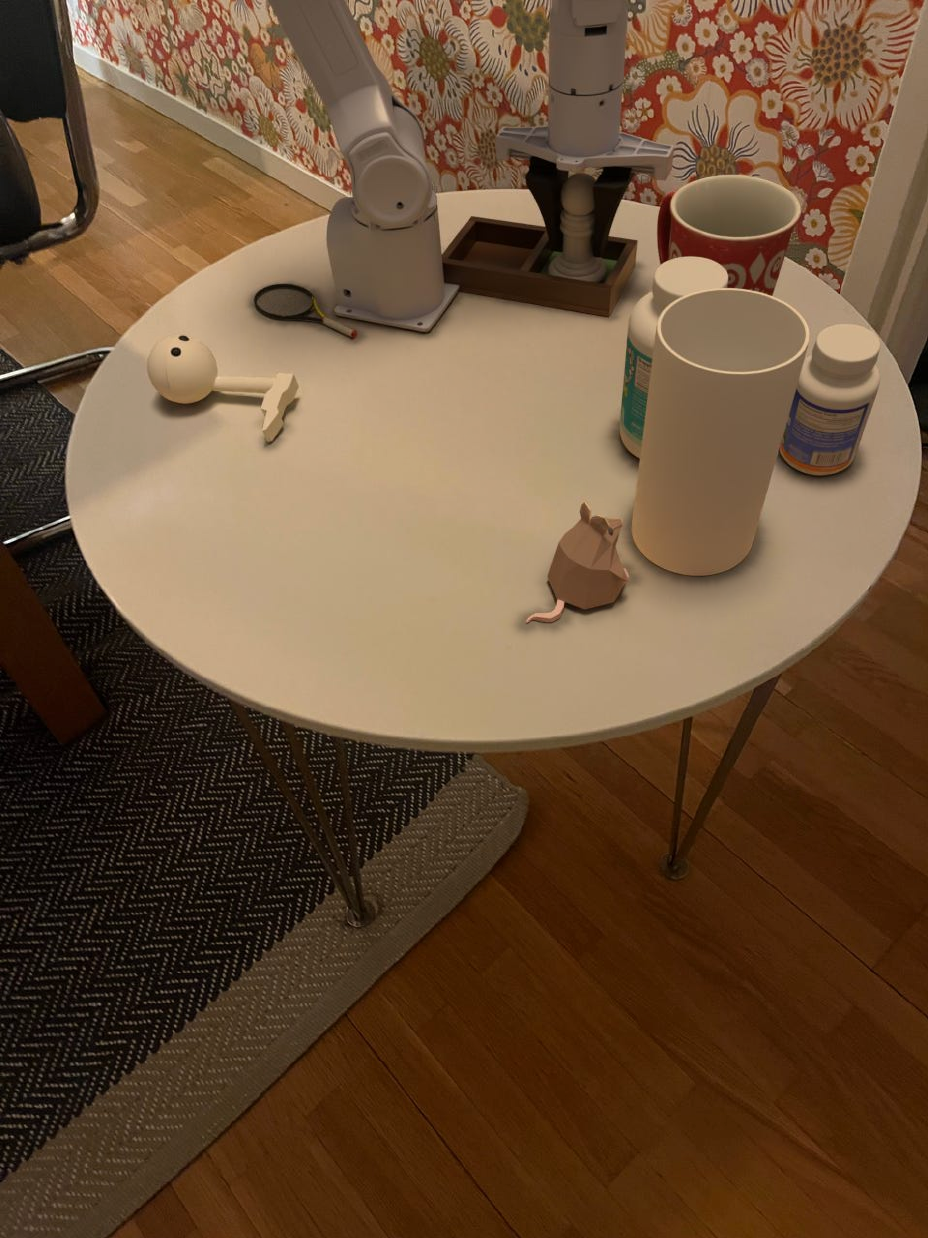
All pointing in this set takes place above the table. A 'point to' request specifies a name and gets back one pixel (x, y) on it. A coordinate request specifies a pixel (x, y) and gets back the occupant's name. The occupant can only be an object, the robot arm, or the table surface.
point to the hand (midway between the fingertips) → (578, 248)
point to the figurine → (213, 379)
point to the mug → (730, 227)
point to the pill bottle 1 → (667, 287)
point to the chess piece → (578, 232)
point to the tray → (531, 267)
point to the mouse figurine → (586, 565)
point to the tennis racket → (301, 315)
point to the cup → (714, 425)
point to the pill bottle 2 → (832, 400)
